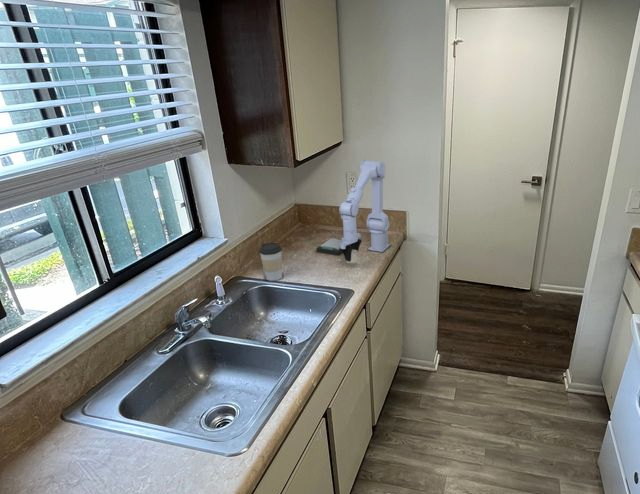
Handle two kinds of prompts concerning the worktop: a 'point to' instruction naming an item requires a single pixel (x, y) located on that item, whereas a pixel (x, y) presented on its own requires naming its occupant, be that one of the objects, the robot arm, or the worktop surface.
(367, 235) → the worktop surface
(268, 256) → the coffee cup
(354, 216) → the robot arm
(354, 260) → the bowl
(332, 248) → the scale
